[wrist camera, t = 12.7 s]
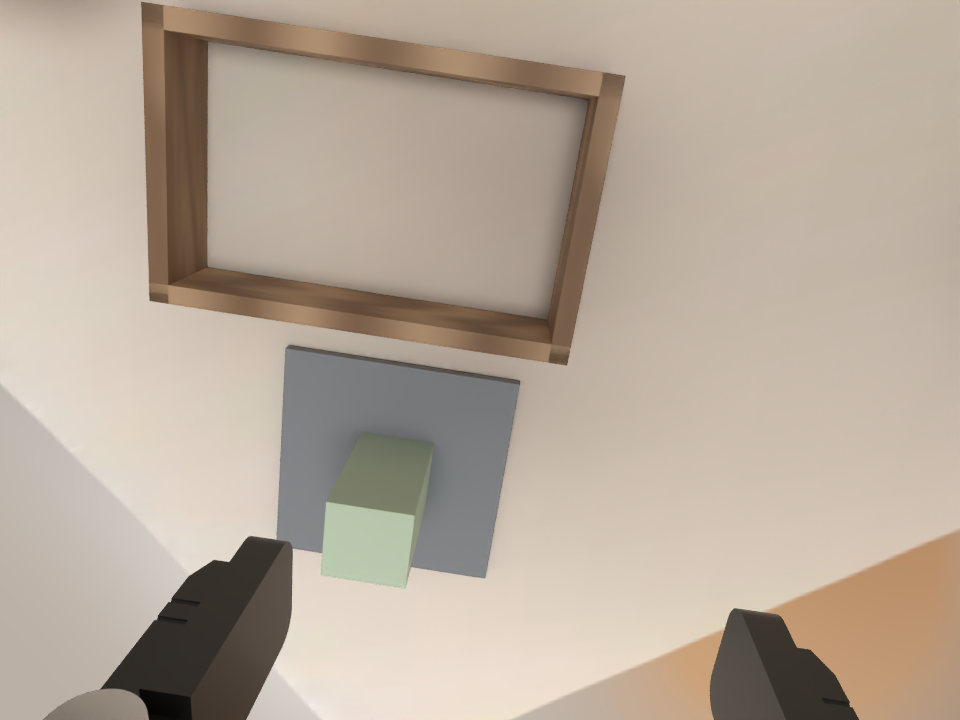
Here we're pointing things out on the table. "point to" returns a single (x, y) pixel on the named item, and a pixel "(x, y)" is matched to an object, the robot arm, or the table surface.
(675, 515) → the table surface
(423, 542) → the slate mat
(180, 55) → the wooden frame
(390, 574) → the sage block
